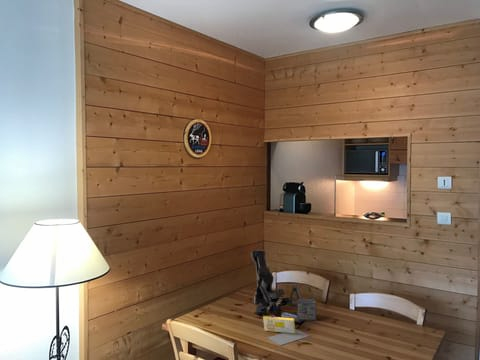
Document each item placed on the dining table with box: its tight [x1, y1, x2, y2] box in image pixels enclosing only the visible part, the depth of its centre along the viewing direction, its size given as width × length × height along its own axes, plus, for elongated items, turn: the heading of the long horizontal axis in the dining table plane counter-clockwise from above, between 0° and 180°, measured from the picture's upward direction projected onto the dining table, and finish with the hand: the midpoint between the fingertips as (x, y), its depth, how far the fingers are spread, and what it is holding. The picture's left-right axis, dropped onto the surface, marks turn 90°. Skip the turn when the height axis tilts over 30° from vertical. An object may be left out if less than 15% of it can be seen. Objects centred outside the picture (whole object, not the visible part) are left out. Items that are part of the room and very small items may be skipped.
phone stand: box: [287, 283, 303, 306], centre depth 241 cm, size 9×6×12 cm, turn 72°
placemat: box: [267, 328, 310, 347], centre depth 193 cm, size 10×19×1 cm, turn 123°
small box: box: [296, 298, 317, 322], centre depth 217 cm, size 11×6×10 cm, turn 84°
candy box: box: [262, 315, 296, 334], centre depth 197 cm, size 16×2×8 cm, turn 71°
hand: (280, 319), depth 198 cm, fingers closed
